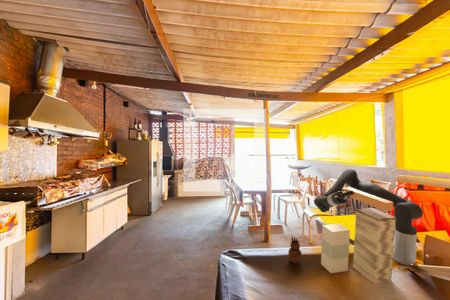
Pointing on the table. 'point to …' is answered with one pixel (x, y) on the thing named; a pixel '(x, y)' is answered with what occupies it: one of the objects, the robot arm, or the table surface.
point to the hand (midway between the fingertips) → (356, 192)
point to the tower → (335, 248)
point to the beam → (371, 200)
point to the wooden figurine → (294, 251)
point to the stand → (374, 244)
